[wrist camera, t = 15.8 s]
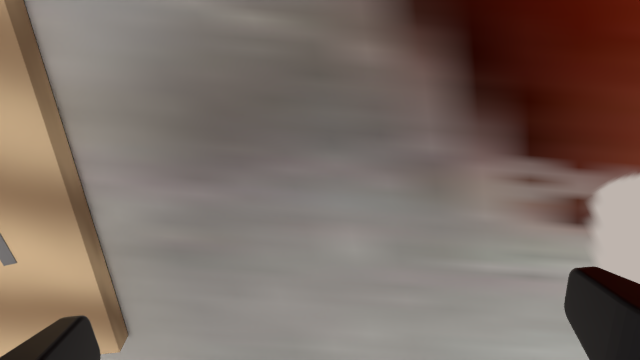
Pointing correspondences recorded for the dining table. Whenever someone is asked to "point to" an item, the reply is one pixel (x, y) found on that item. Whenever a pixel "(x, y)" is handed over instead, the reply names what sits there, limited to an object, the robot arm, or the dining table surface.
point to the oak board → (43, 206)
